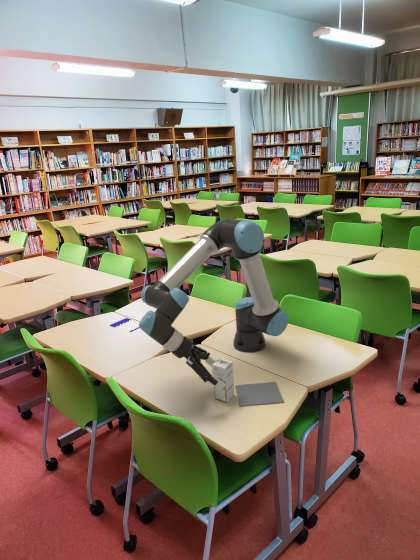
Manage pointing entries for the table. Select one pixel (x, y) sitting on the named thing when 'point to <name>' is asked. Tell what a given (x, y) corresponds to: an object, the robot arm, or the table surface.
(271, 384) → the mat
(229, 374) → the syrup box
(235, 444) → the table surface
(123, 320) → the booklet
